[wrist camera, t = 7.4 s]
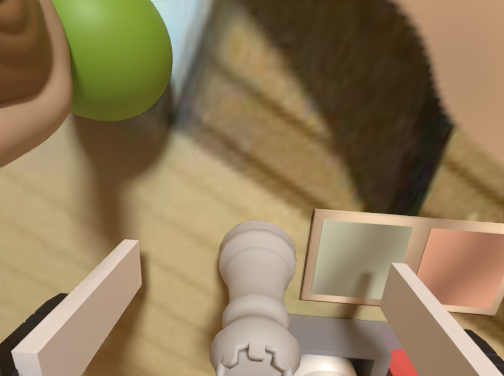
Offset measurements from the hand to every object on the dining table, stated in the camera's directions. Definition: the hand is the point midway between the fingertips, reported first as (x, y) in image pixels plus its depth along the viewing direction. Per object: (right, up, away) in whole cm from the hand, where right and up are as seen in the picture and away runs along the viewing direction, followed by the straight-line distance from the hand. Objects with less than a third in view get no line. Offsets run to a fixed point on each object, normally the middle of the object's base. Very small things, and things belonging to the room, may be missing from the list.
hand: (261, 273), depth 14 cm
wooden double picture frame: (+9, 0, +2) cm, 9 cm away
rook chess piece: (0, +1, +2) cm, 2 cm away
